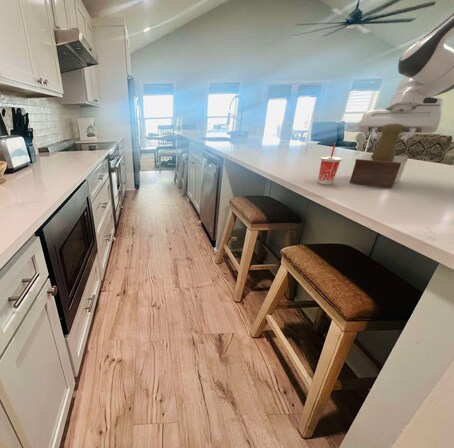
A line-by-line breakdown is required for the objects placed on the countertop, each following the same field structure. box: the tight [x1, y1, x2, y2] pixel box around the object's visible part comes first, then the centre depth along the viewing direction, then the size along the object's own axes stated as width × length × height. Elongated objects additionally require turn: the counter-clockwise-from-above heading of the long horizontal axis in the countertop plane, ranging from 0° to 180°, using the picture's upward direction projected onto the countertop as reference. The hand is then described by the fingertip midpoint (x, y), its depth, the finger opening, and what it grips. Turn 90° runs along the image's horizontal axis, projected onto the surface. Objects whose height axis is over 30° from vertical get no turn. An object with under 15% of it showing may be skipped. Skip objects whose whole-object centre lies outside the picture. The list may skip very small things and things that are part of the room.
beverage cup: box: [317, 142, 343, 185], centre depth 87 cm, size 6×6×14 cm
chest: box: [349, 159, 408, 190], centre depth 86 cm, size 14×12×8 cm
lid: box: [355, 153, 409, 165], centre depth 84 cm, size 14×12×1 cm
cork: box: [371, 124, 403, 159], centre depth 82 cm, size 6×6×11 cm
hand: (387, 140), depth 81 cm, fingers open, 6 cm apart
